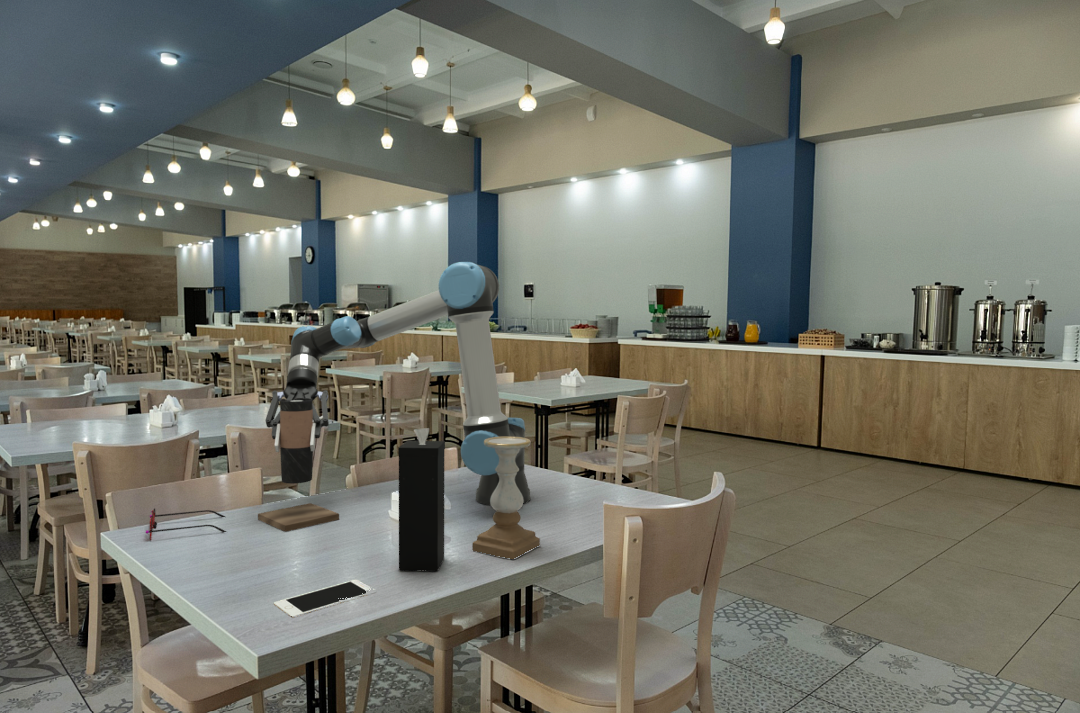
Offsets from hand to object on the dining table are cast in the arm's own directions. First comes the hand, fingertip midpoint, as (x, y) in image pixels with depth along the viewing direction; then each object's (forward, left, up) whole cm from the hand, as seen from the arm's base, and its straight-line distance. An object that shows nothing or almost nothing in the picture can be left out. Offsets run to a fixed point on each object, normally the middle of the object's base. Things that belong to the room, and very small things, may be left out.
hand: (294, 448), depth 166 cm
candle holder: (-50, -23, -19) cm, 58 cm away
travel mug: (+3, -2, -9) cm, 9 cm away
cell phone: (-46, +18, -19) cm, 52 cm away
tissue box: (-45, -4, -19) cm, 48 cm away
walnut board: (+2, -2, -18) cm, 19 cm away
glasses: (+14, +20, -19) cm, 31 cm away
